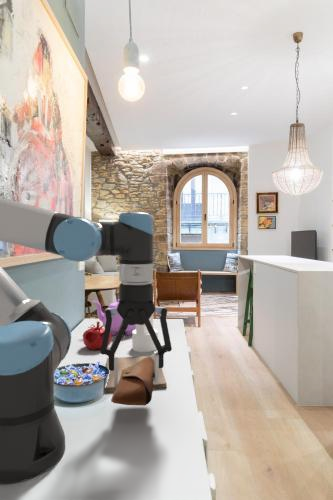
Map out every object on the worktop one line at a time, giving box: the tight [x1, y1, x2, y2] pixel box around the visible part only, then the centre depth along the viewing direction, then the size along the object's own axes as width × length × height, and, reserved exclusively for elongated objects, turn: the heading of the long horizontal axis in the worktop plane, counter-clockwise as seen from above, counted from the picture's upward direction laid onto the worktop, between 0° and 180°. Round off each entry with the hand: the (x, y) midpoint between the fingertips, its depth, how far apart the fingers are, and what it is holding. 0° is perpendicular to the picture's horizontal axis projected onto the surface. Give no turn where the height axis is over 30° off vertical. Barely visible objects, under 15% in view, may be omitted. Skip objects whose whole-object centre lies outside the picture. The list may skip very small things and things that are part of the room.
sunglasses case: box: [110, 357, 154, 406], centre depth 79 cm, size 18×7×7 cm, turn 0°
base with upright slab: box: [131, 313, 159, 353], centre depth 126 cm, size 9×9×12 cm
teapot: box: [92, 298, 136, 336], centre depth 147 cm, size 22×16×14 cm
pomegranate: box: [82, 321, 112, 351], centre depth 127 cm, size 10×10×9 cm
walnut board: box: [104, 354, 168, 393], centre depth 102 cm, size 16×22×1 cm
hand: (136, 382), depth 79 cm, fingers closed on sunglasses case, 8 cm apart
